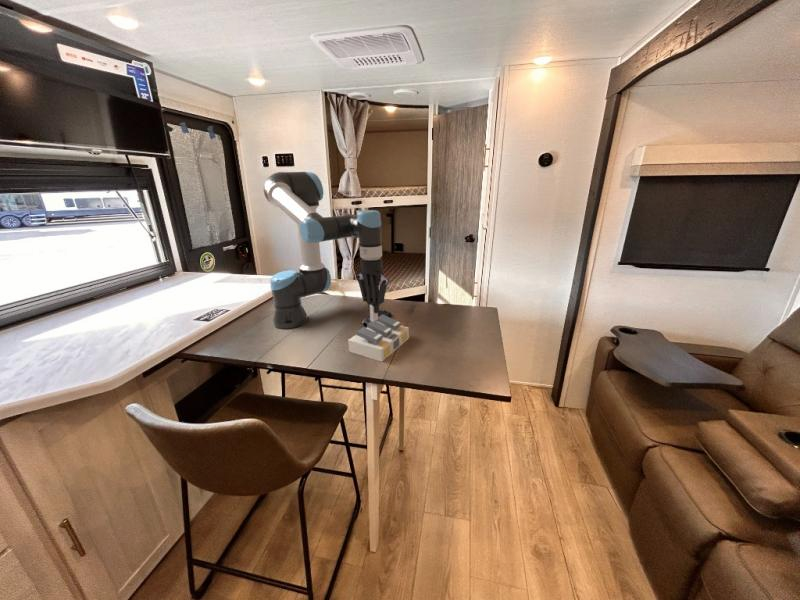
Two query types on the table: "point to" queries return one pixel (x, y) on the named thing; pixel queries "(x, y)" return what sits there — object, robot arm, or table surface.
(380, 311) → the electronic device
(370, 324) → the block
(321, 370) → the table surface
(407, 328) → the switch unit
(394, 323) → the block
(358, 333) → the rocker
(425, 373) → the table surface
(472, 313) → the table surface
